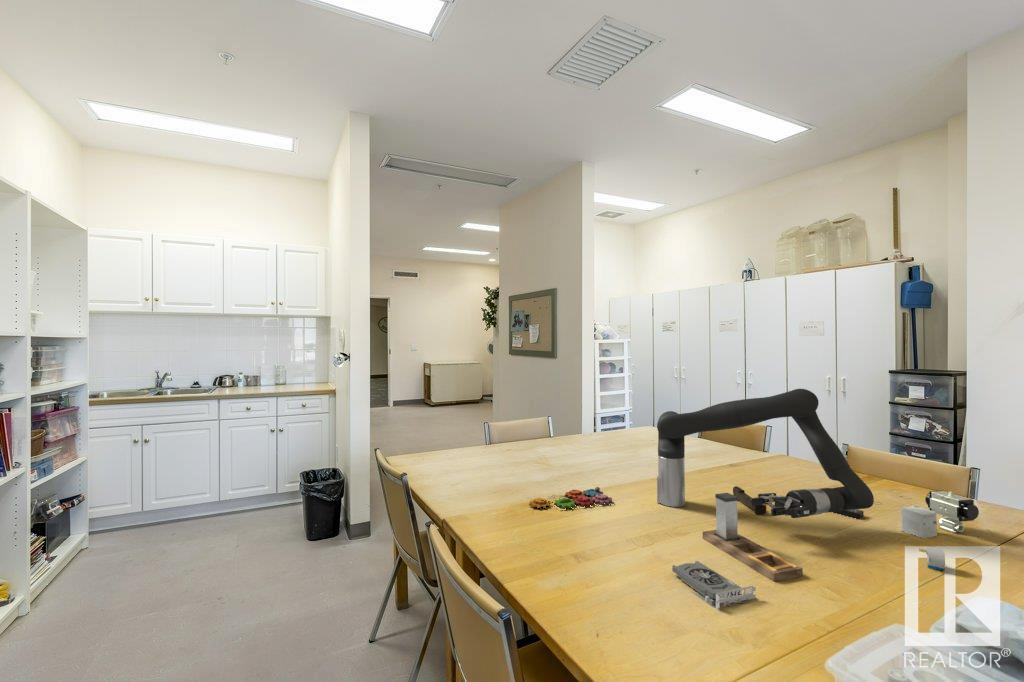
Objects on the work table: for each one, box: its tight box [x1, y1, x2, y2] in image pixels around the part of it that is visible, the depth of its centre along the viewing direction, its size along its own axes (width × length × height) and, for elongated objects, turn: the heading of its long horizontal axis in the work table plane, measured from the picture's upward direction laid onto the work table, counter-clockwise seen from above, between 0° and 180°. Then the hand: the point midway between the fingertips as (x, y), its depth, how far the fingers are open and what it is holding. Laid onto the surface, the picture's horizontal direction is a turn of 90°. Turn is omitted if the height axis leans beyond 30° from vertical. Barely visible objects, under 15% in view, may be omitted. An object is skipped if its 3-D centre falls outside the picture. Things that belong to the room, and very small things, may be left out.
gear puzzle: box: [528, 486, 615, 509], centre depth 170 cm, size 31×16×4 cm, turn 106°
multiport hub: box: [833, 509, 865, 520], centre depth 158 cm, size 4×14×2 cm, turn 34°
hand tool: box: [732, 486, 767, 516], centre depth 165 cm, size 19×4×5 cm, turn 178°
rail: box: [702, 529, 804, 582], centre depth 126 cm, size 26×9×2 cm, turn 16°
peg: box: [714, 492, 739, 541], centre depth 134 cm, size 4×4×14 cm
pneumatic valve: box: [924, 490, 980, 534], centre depth 141 cm, size 6×12×12 cm, turn 9°
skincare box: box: [900, 505, 938, 539], centre depth 139 cm, size 6×6×7 cm
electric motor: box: [918, 546, 946, 571], centre depth 119 cm, size 7×5×5 cm
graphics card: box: [671, 560, 757, 611], centre depth 110 cm, size 17×4×12 cm
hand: (761, 506), depth 136 cm, fingers open, 8 cm apart
